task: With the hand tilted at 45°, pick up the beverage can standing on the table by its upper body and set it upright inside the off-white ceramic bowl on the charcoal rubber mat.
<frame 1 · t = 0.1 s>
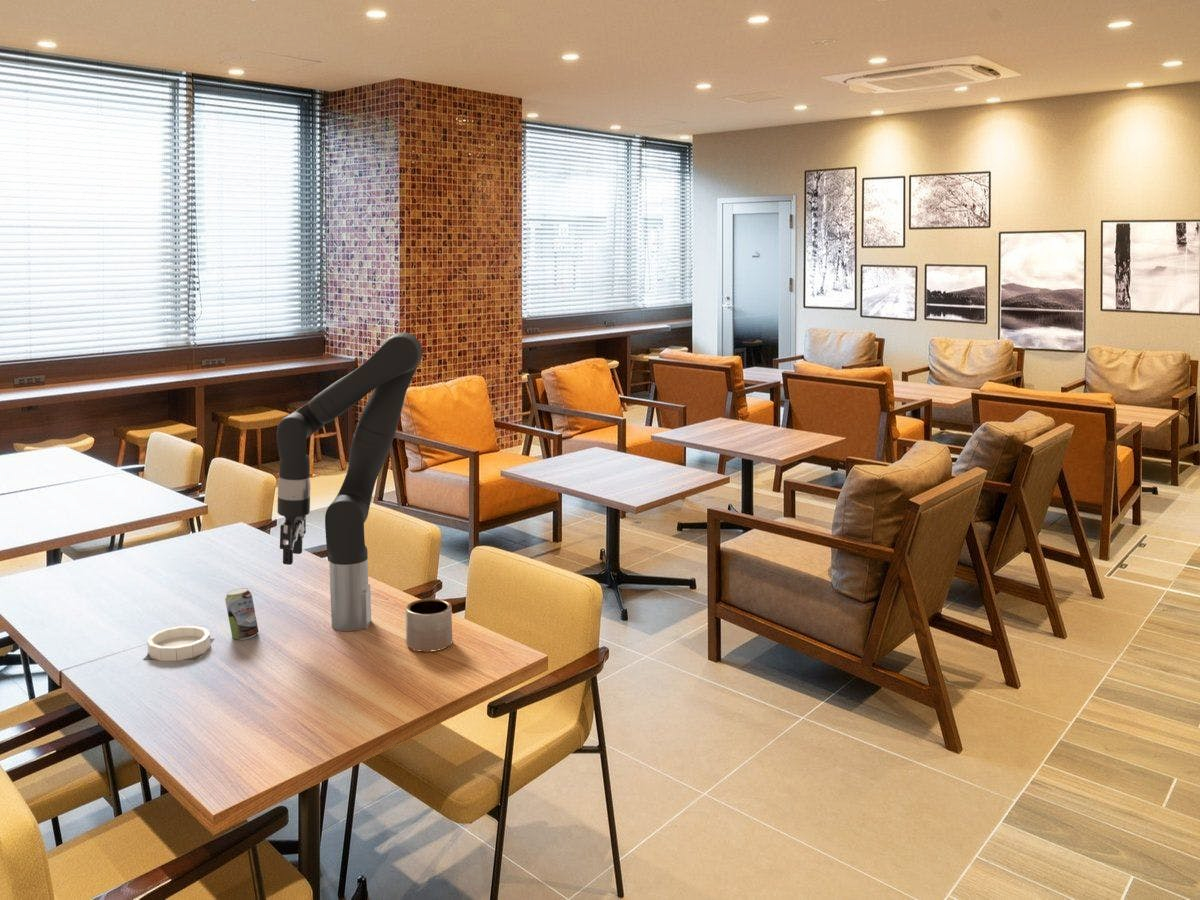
hand: (292, 558, 235), 17 cm above the table, tool pointing down, fingers open, 8 cm apart
mat: (179, 651, 222), on the table
bowl: (179, 648, 222), resting on mat
beverage can: (243, 638, 231), on the table
planter: (429, 644, 229), on the table
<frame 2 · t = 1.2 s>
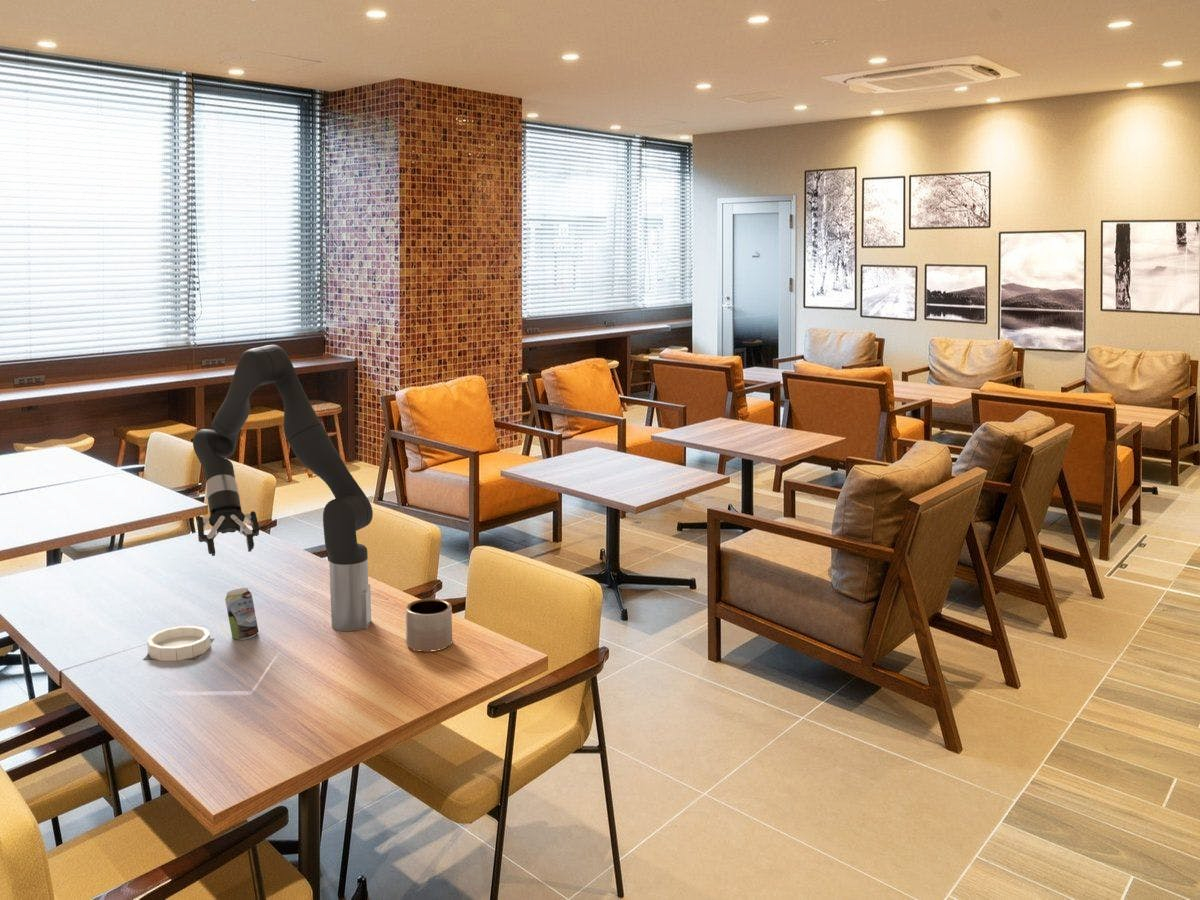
hand: (232, 552, 237), 18 cm above the table, tool tilted 45°, fingers open, 8 cm apart
nothing on the table moved.
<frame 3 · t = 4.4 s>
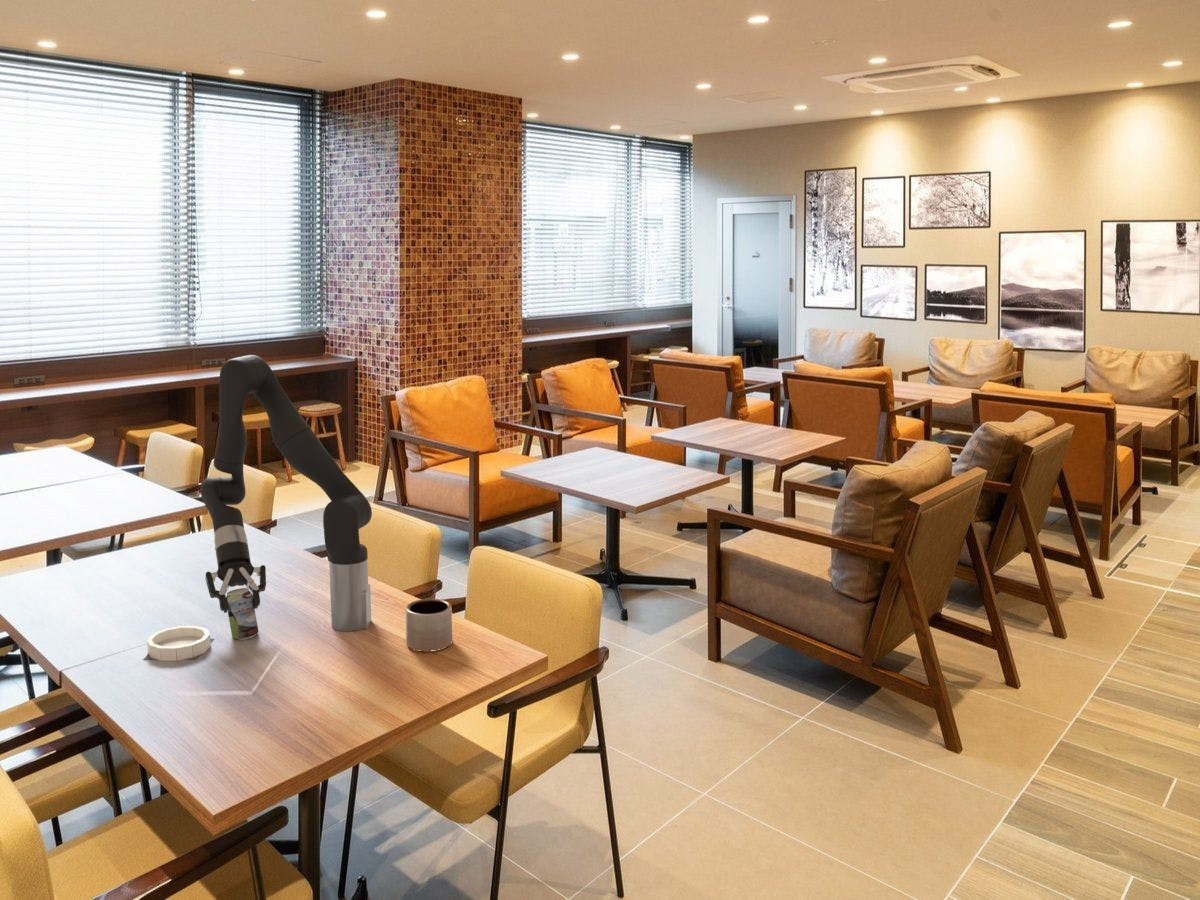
hand: (241, 609, 227), 8 cm above the table, tool tilted 45°, fingers closed on beverage can, 6 cm apart
beverage can: (243, 638, 231), on the table, touching gripper
everything else where it was.
when the fingers open (10 cm above the table, at t = 9.6 s): beverage can stays where it is, resting on bowl.
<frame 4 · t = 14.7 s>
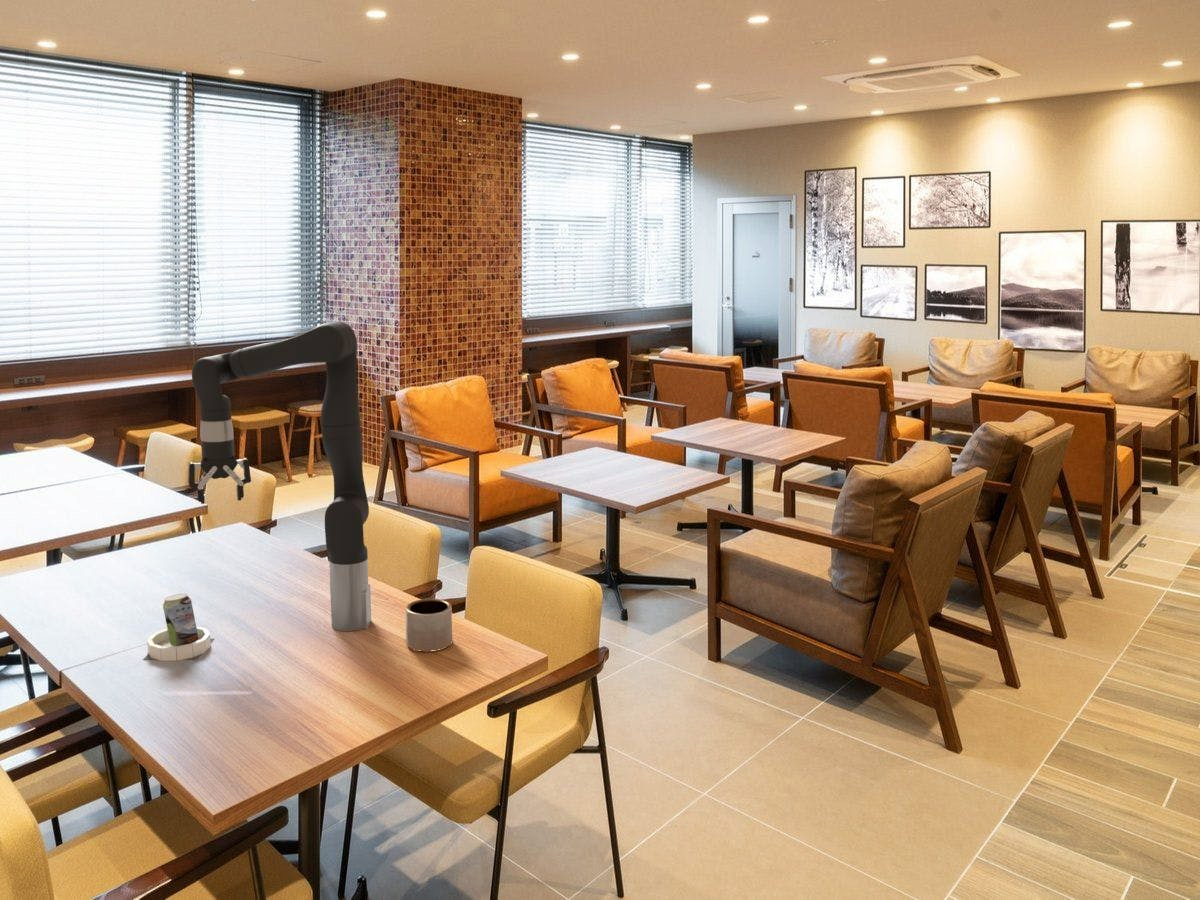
hand: (221, 501, 238), 30 cm above the table, tool pointing down, fingers open, 8 cm apart
beverage can: (182, 645, 222), point 1 cm above the table, touching bowl
everything else where it was.
at the end: beverage can 0.7 cm from the bowl (horizontally); beverage can tilted 0°; beverage can point 1.2 cm above the table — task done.
